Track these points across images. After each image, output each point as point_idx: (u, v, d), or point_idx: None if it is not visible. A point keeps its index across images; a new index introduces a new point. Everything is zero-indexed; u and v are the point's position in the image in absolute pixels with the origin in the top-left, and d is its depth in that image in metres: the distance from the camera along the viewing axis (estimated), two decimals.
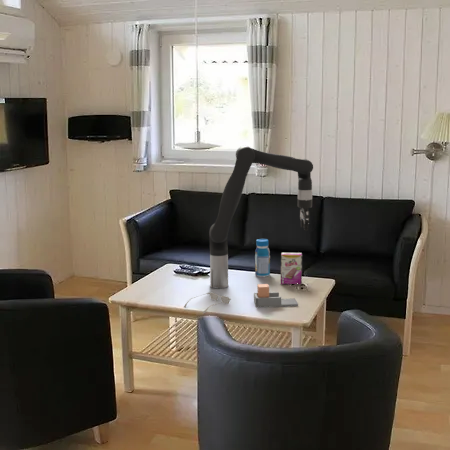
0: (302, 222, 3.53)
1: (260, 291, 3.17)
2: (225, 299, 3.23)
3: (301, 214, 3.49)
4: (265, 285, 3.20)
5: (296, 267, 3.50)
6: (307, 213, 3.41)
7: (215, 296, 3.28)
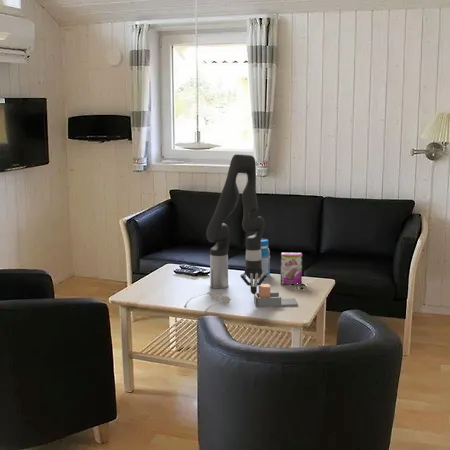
0: None
1: (261, 291, 3.17)
2: (225, 299, 3.24)
3: (252, 277, 3.16)
4: (266, 285, 3.20)
5: (296, 267, 3.50)
6: None
7: (215, 296, 3.28)
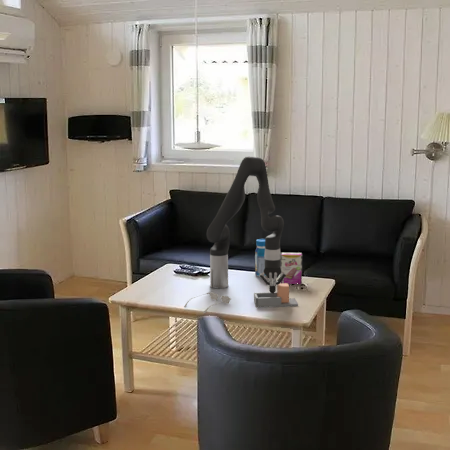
0: None
1: (280, 290, 3.18)
2: (225, 299, 3.24)
3: (271, 276, 3.17)
4: (285, 284, 3.20)
5: (296, 267, 3.50)
6: None
7: (215, 296, 3.28)
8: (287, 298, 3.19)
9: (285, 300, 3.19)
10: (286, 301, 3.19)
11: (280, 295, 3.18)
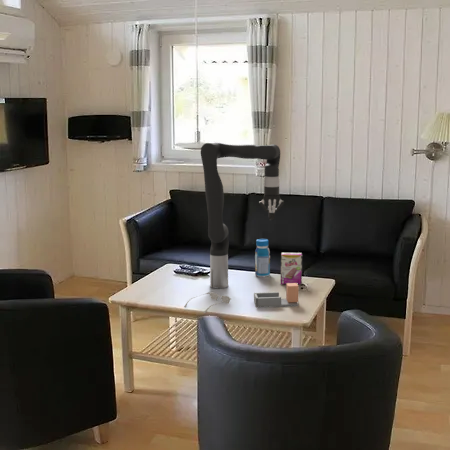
0: None
1: (289, 290, 3.18)
2: (225, 299, 3.24)
3: (270, 203, 3.32)
4: (294, 284, 3.21)
5: (296, 267, 3.50)
6: None
7: (215, 296, 3.28)
8: (296, 298, 3.19)
9: (295, 300, 3.19)
10: (295, 301, 3.19)
11: (289, 295, 3.18)
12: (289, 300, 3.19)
